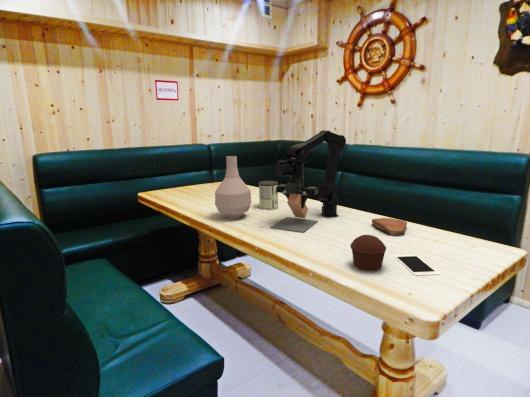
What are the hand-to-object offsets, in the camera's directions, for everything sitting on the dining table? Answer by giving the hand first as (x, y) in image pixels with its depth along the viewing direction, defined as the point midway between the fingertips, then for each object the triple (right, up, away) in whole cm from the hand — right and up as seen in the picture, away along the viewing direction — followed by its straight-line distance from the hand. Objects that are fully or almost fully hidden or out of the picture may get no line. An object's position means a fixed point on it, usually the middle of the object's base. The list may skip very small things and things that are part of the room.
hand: (296, 208), depth 163 cm
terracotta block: (+3, -3, +6) cm, 7 cm away
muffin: (+19, -18, -45) cm, 52 cm away
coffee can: (-13, -1, +31) cm, 33 cm away
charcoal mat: (-1, -8, 0) cm, 8 cm away
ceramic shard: (+38, -10, -10) cm, 41 cm away
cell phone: (+35, -18, -45) cm, 60 cm away
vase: (-30, -5, +14) cm, 34 cm away
